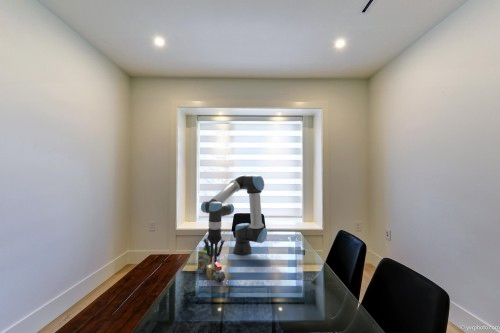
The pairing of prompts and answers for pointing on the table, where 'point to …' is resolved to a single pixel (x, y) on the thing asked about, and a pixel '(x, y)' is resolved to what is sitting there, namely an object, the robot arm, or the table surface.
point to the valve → (213, 273)
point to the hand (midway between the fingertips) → (213, 267)
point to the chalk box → (203, 257)
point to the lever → (217, 266)
